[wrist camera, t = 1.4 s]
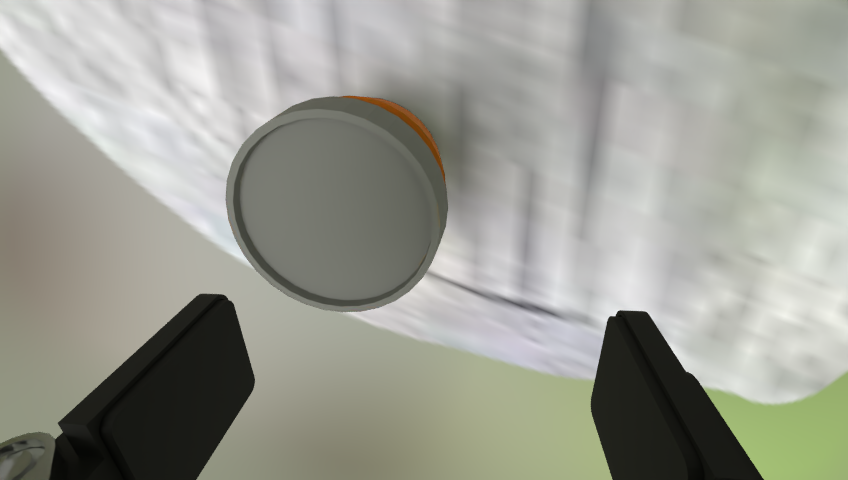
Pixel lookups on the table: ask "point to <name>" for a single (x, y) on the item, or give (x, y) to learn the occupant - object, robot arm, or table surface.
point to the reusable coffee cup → (339, 202)
